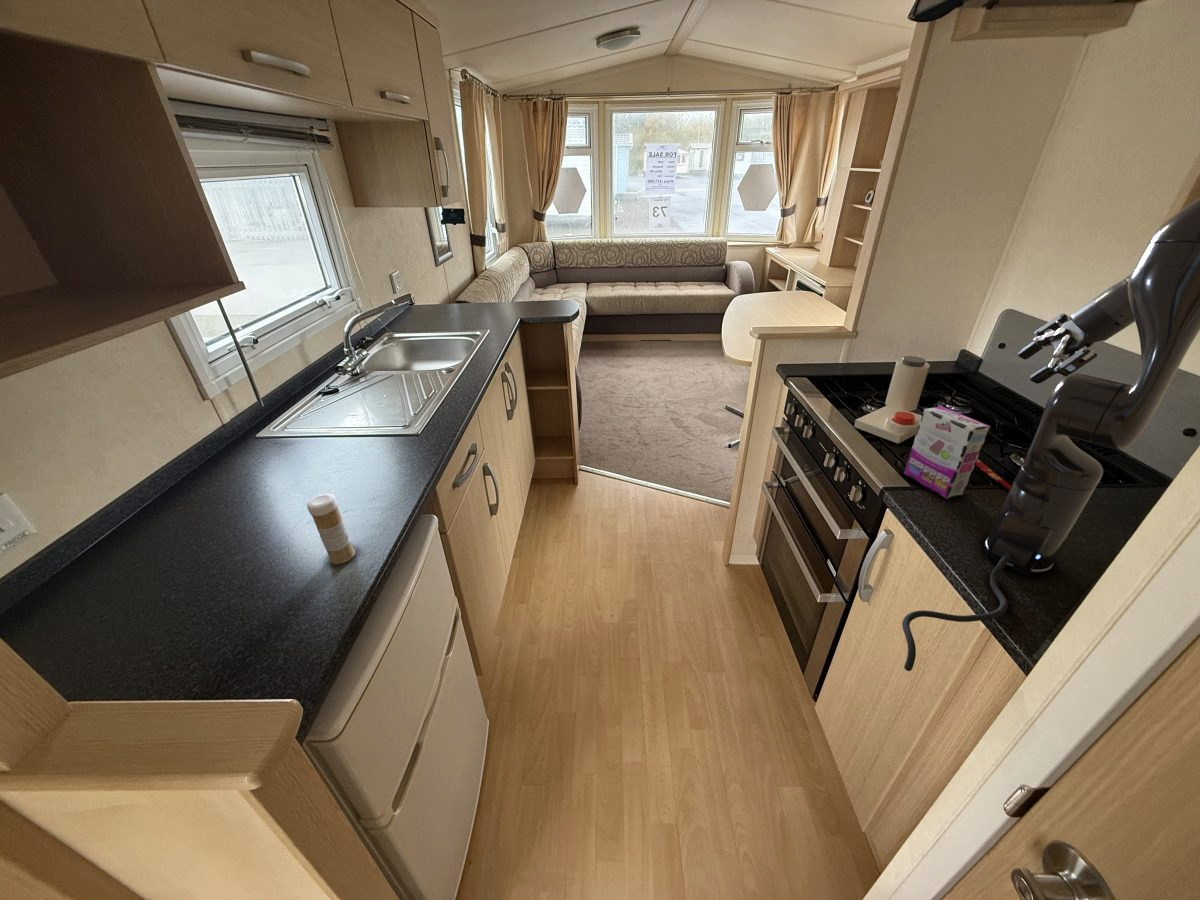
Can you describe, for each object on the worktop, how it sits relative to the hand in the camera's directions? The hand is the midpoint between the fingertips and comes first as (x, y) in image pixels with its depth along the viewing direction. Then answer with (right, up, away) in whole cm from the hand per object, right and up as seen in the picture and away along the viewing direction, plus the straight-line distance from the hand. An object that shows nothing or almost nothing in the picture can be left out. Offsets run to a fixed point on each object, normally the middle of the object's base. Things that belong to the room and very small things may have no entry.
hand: (1026, 368), depth 103 cm
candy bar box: (-19, -25, +3) cm, 31 cm away
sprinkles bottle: (-142, -38, -11) cm, 147 cm away
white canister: (-9, -5, +29) cm, 31 cm away
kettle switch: (-13, -10, +21) cm, 27 cm away
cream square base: (-13, -11, +27) cm, 32 cm away
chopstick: (-4, -23, +5) cm, 24 cm away
